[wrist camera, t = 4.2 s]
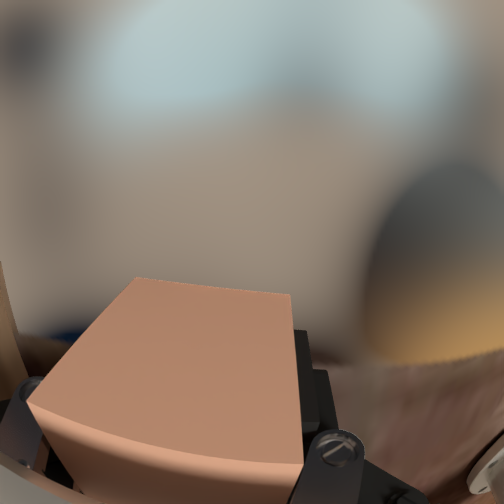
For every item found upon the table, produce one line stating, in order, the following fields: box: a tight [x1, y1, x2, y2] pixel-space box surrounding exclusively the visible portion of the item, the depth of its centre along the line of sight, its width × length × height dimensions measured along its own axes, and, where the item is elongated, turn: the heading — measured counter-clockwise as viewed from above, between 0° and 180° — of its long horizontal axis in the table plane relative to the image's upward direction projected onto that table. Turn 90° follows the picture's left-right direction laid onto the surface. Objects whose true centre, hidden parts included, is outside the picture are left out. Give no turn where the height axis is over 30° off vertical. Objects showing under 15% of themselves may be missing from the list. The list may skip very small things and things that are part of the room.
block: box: [26, 277, 304, 504], centre depth 8 cm, size 5×5×6 cm
